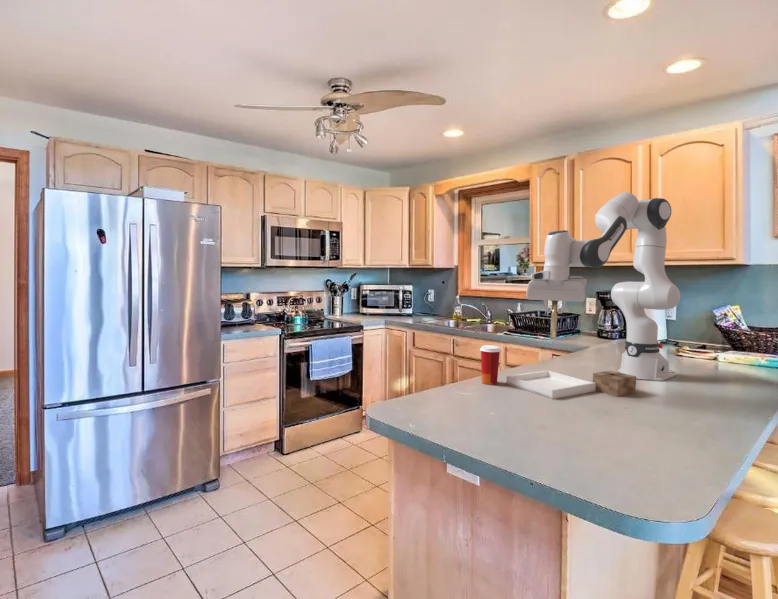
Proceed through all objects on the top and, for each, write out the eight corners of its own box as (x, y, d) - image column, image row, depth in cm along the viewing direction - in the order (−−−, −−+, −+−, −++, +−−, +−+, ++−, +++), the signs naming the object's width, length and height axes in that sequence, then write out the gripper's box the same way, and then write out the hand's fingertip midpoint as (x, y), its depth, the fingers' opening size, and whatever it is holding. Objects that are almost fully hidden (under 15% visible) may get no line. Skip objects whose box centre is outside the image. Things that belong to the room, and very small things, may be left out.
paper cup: (498, 380, 176) (499, 345, 175) (501, 385, 169) (502, 348, 168) (477, 380, 177) (478, 344, 176) (479, 385, 170) (480, 348, 168)
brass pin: (552, 338, 168) (554, 298, 167) (559, 339, 165) (561, 298, 164) (546, 338, 166) (548, 298, 165) (553, 339, 164) (555, 298, 163)
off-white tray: (547, 377, 182) (547, 370, 182) (595, 391, 163) (595, 382, 163) (506, 383, 172) (506, 376, 172) (552, 399, 153) (552, 390, 152)
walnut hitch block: (609, 386, 170) (610, 370, 170) (635, 392, 161) (636, 376, 161) (592, 389, 165) (593, 373, 165) (617, 396, 156) (618, 379, 156)
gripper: (586, 275, 163) (584, 313, 164) (527, 274, 171) (526, 310, 172) (587, 276, 157) (585, 315, 158) (526, 274, 165) (524, 312, 166)
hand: (554, 313), depth 165 cm, fingers closed on brass pin, 2 cm apart
